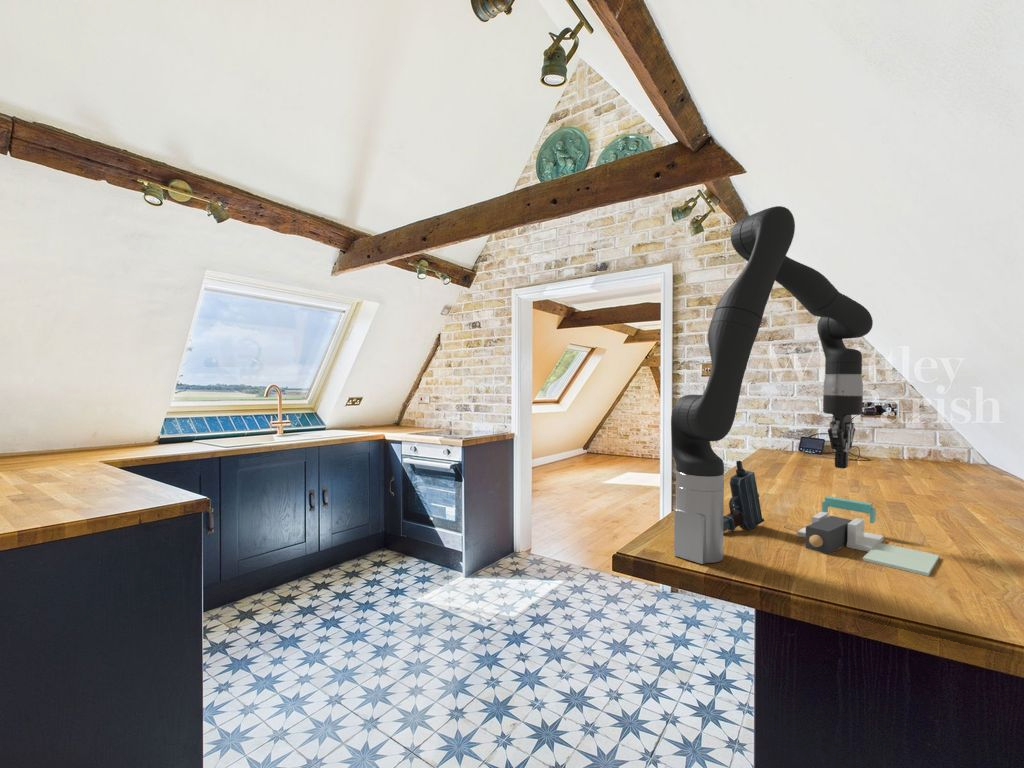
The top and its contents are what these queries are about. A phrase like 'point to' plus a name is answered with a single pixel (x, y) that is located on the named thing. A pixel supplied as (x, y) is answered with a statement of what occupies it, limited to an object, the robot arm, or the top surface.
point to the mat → (902, 558)
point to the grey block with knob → (827, 534)
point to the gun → (743, 501)
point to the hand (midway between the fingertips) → (841, 467)
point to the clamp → (851, 533)
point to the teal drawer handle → (849, 506)
